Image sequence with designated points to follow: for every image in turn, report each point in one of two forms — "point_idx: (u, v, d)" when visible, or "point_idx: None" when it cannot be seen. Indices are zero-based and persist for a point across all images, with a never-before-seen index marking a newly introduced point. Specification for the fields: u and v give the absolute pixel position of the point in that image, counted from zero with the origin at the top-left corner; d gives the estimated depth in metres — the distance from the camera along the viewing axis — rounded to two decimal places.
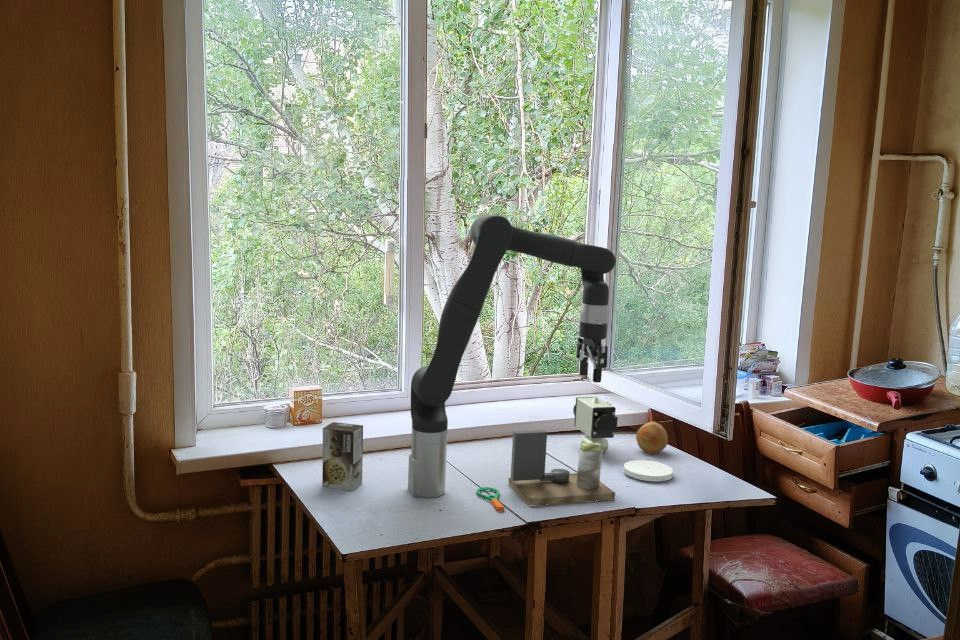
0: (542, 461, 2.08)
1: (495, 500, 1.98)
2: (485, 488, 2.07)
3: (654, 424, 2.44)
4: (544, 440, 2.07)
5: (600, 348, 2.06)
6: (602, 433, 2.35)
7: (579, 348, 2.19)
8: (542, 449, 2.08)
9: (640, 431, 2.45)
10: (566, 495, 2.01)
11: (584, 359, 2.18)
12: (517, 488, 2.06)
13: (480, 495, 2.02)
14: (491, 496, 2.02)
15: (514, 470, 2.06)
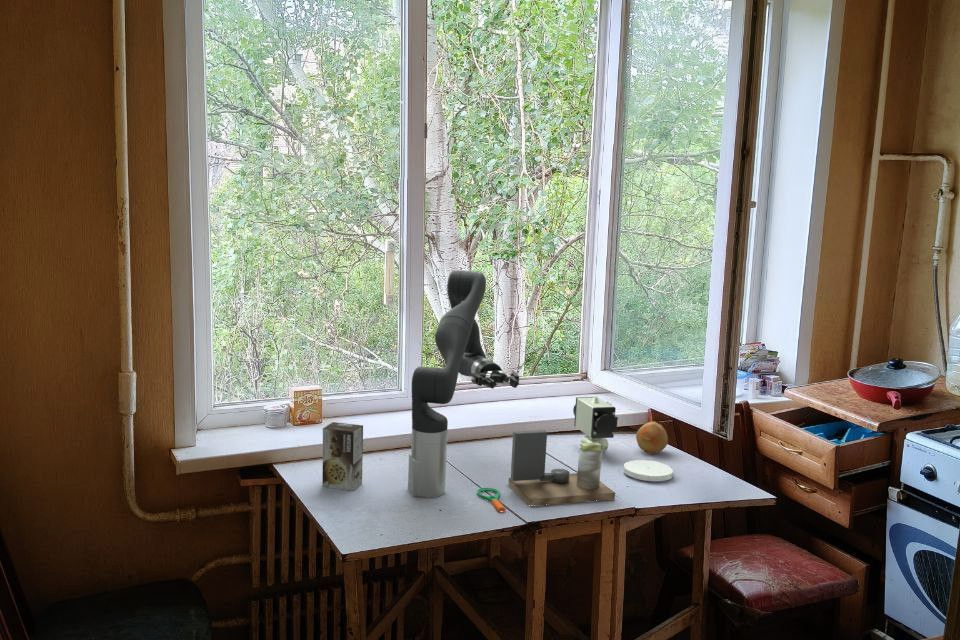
0: (542, 461, 2.08)
1: (496, 501, 1.97)
2: (485, 488, 2.07)
3: (654, 424, 2.44)
4: (544, 440, 2.07)
5: None
6: (602, 433, 2.35)
7: None
8: (542, 449, 2.08)
9: (640, 431, 2.45)
10: (566, 495, 2.01)
11: None
12: (517, 488, 2.06)
13: (481, 496, 2.02)
14: (492, 497, 2.02)
15: (514, 470, 2.06)
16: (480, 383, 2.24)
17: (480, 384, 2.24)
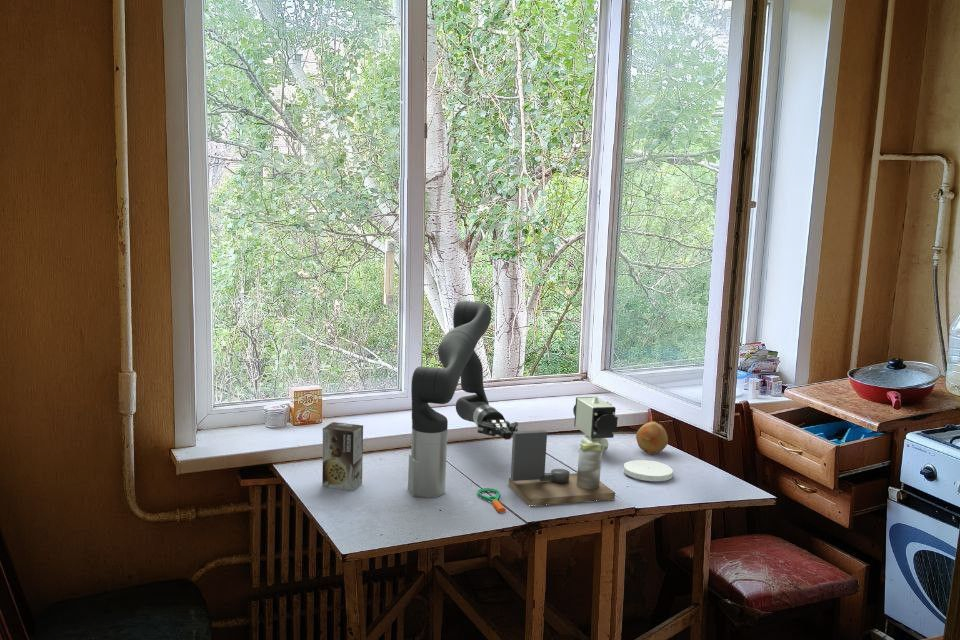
0: (542, 461, 2.08)
1: (496, 501, 1.97)
2: (486, 489, 2.07)
3: (654, 424, 2.44)
4: (544, 440, 2.07)
5: (517, 424, 2.28)
6: (602, 433, 2.35)
7: None
8: (542, 449, 2.08)
9: (640, 431, 2.45)
10: (566, 495, 2.01)
11: None
12: (517, 488, 2.06)
13: (481, 496, 2.02)
14: (492, 497, 2.01)
15: (514, 470, 2.06)
16: (493, 433, 2.22)
17: (494, 434, 2.22)
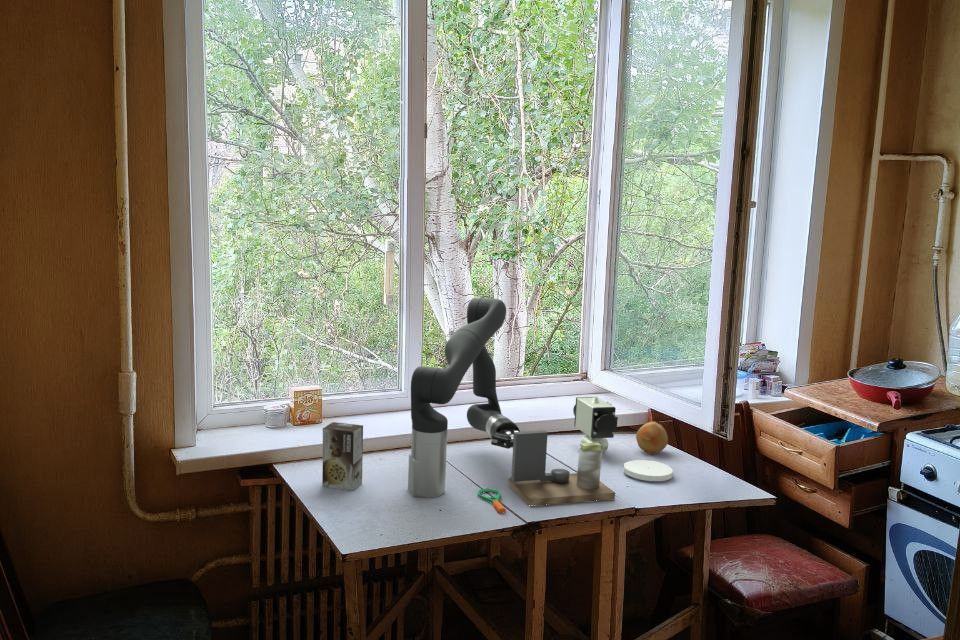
0: (543, 461, 2.08)
1: (496, 502, 1.97)
2: (486, 490, 2.06)
3: (654, 424, 2.44)
4: (545, 440, 2.07)
5: None
6: (602, 433, 2.35)
7: None
8: (542, 449, 2.07)
9: (640, 431, 2.45)
10: (566, 495, 2.01)
11: None
12: (517, 488, 2.06)
13: (481, 497, 2.01)
14: (492, 498, 2.01)
15: (515, 471, 2.05)
16: (508, 446, 2.11)
17: (509, 447, 2.11)
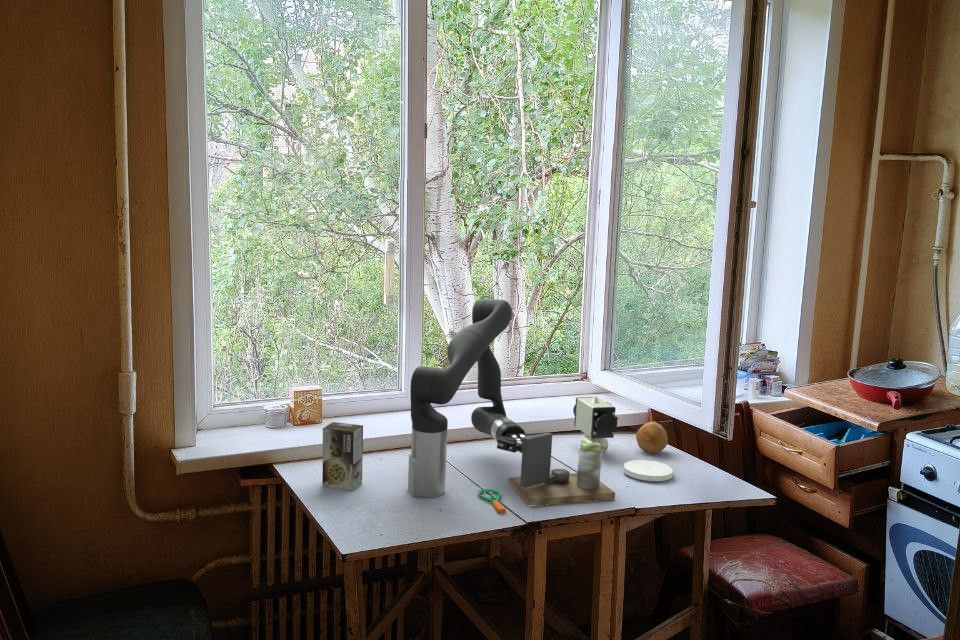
0: (548, 463, 2.06)
1: (496, 502, 1.96)
2: (486, 490, 2.06)
3: (654, 424, 2.44)
4: (550, 442, 2.06)
5: None
6: (602, 433, 2.35)
7: None
8: (548, 451, 2.06)
9: (640, 431, 2.45)
10: (566, 495, 2.01)
11: None
12: (517, 488, 2.06)
13: (481, 497, 2.01)
14: (492, 498, 2.01)
15: (526, 476, 2.01)
16: (514, 450, 2.08)
17: (515, 451, 2.08)
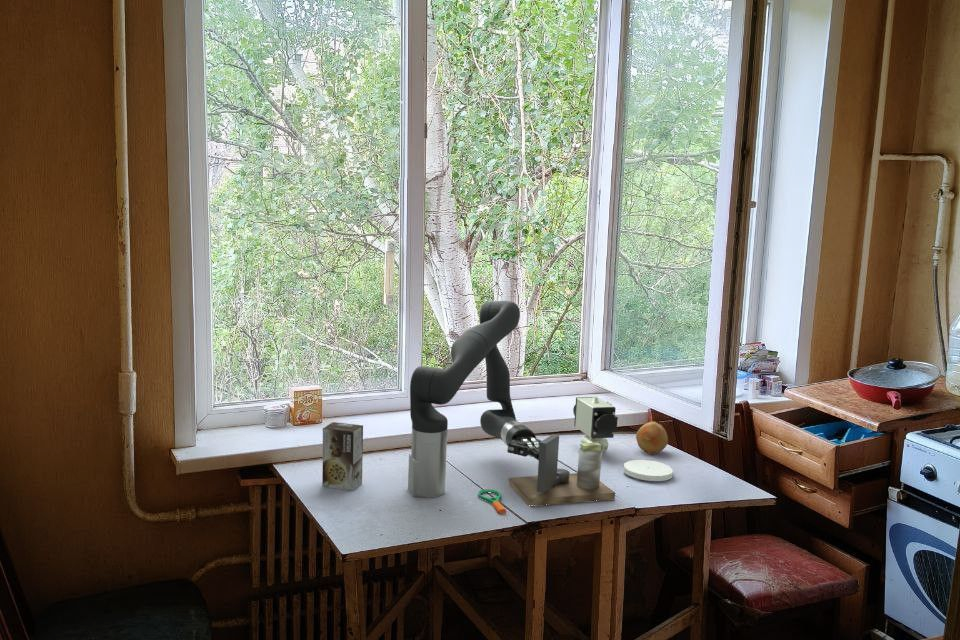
0: (556, 465, 2.05)
1: (496, 502, 1.96)
2: (487, 490, 2.06)
3: (654, 424, 2.44)
4: (557, 444, 2.05)
5: None
6: (602, 433, 2.35)
7: None
8: (556, 453, 2.04)
9: (640, 431, 2.45)
10: (566, 495, 2.01)
11: None
12: (517, 488, 2.06)
13: (481, 497, 2.01)
14: (493, 498, 2.00)
15: (544, 481, 1.98)
16: (525, 454, 2.05)
17: (526, 455, 2.05)
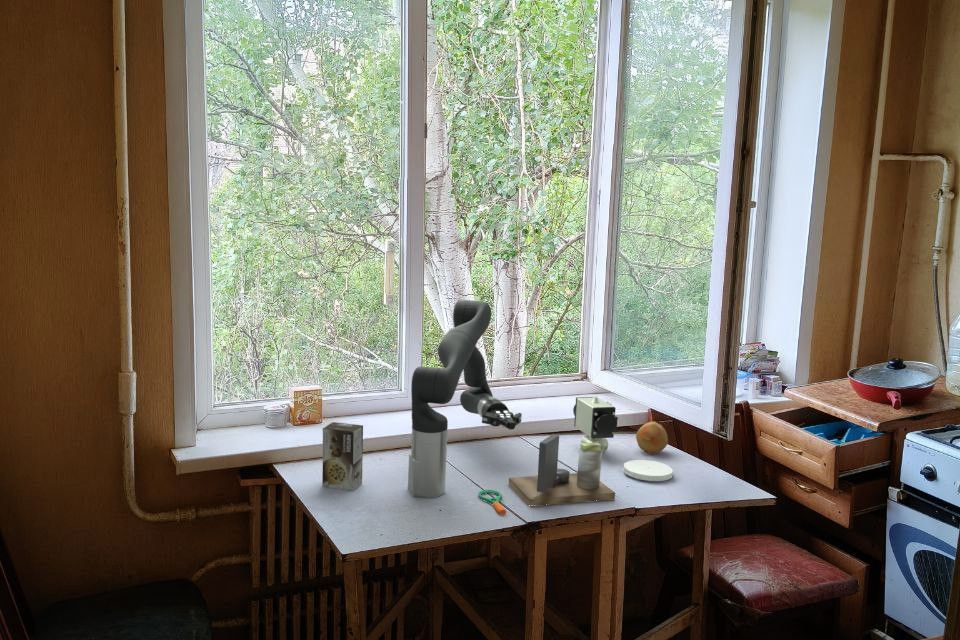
0: (556, 465, 2.05)
1: (497, 503, 1.96)
2: (487, 491, 2.05)
3: (654, 424, 2.44)
4: (557, 444, 2.05)
5: (521, 414, 2.31)
6: (602, 433, 2.35)
7: None
8: (556, 453, 2.04)
9: (640, 431, 2.45)
10: (566, 495, 2.01)
11: None
12: (517, 488, 2.06)
13: (482, 498, 2.00)
14: (493, 499, 2.00)
15: (544, 481, 1.98)
16: (497, 424, 2.25)
17: (498, 425, 2.25)
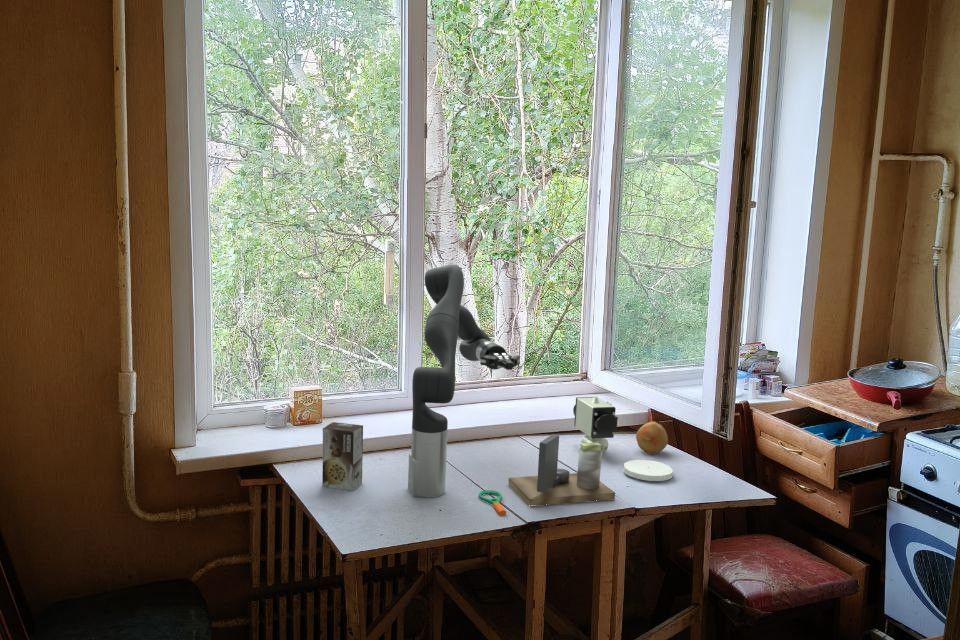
0: (556, 465, 2.05)
1: (497, 503, 1.95)
2: (487, 491, 2.05)
3: (654, 424, 2.44)
4: (557, 444, 2.05)
5: (519, 357, 2.32)
6: (602, 433, 2.35)
7: None
8: (556, 453, 2.04)
9: (640, 431, 2.45)
10: (566, 495, 2.01)
11: None
12: (517, 488, 2.06)
13: (482, 498, 2.00)
14: (493, 499, 2.00)
15: (544, 481, 1.98)
16: (496, 365, 2.26)
17: (497, 366, 2.26)
